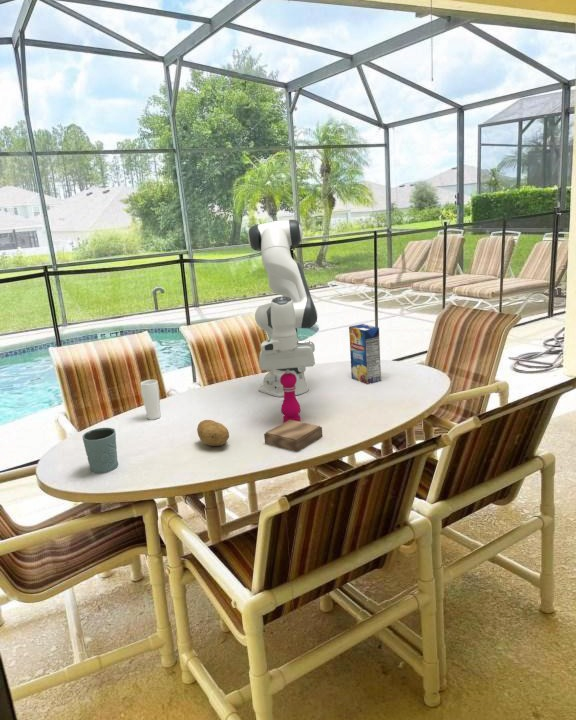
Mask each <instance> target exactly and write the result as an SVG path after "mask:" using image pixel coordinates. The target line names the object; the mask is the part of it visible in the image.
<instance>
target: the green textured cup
mask: <svg viewBox="0 0 576 720" xmlns="http://www.w3.org/2000/svg"><path fill="white" fill-rule="evenodd" d="M82 441H83V445H84V449H85V453H86V456H87V462H88V464H89V465H88V466H89V470H90V471H91V473H92V474H96V475H97V474H98V475H99V474H106V473H109V472H111V471H114V470H116V469H117V468H118V465H119V463H118V451H117V436H116V430H115V428H112V427H99V428H93V429H91V430H89V431H86V432H85V433H84V434H83V435H82Z"/></svg>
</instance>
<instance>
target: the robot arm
mask: <svg viewBox="0 0 576 720" xmlns="http://www.w3.org/2000/svg"><path fill="white" fill-rule="evenodd" d="M247 233H248V234H247V241H248V244H249V246H250V248H251V249H252V250H254V251H256V252H261V253H260V254H261V261H262V266H263V268H264V270H265V271H266V272H267V280H268V287H269V289H270V290H271V291H272V292H273V293H275V294H277V295H281V296H277V297H274V298H272V300H270V301H271V302H270V303H269V302H268V303H266V304H262V305H260V306H258V307H257V308H256V310H255V314H254V320H255V323H256V325H257V326H258V328H259V329H261V330H264V332H266V333H267V334H268V335H269V336H270V338H269V339H267V340H264V341H263V342H261V344H260V349H261V350H260V351H259V360H258V362H259V364H258V365H259V367H258V368H259V370H261V371H269V372H267V373H266V374H265V375H264V377H263V381H262V385H261V386H259V387H258V392H262V393H264V394H268V395H271V396H274V397H277V398H284V391H283V390H282V389H283V388H282V386H283V385H282V384H281V383H280V378H281V376H282V375H283V374H285V370H286V369H289V370H290V373H292V374H294V375H295V376H296V379H297V382H296V384H295V386H296V390H295V396H299V395H302V394H305V393H307V392H308V390H309V387H308V384H307V380H306V375H305V372H306V370H307V369H306V368H307V367H308V368H309V367H310V368H311V367H313V366H315V364H316V362H315V354H314V352H315V351H316V348H315V343H314V342H313V341H310V340H306V341H302V340H300V339H299V337H298V333H297V330H296V329H312V327H314V325H315V324H316V323H317V322H318V311H317V308H316V306H315V304H314V300H313V298H312V295H311V292H310V289H309V286H308V282H307V280H306V276H305V273H304V271H303V268H302V266H301V264H300V263H299V262H296V261H295V260H294V259H293V257H292V253H291V251H290V248H291V247H292V250H293V251H294V250H295V248H297V247H298V246H299V245H300V243H301V242H302V238H303V228H302V226H301V225H300V222H299V221H298V220H296V219H289V220H288V219H287V220H286V219H285V220H283V219H282V220H273V221H270V222H264V223H261V224H254V225H252V226H250V228H249V229H248V232H247Z"/></svg>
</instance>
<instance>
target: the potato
mask: <svg viewBox="0 0 576 720" xmlns="http://www.w3.org/2000/svg"><path fill="white" fill-rule="evenodd" d="M196 431H197V436H198V438H199V440H200V441H201V442H202V443H203V444H205V445H206V446H209V447H220V446H221V447H222V446H223V445H224V444H226V443H227V442H228V441H229V438H230V432H229V430H228V427H226V426H225V425H224V424H222V423H220V422H217V421H214V420H211V419H204V420H201V421H200V422H199V423H198V425H197V429H196Z"/></svg>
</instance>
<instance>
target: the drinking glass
mask: <svg viewBox="0 0 576 720" xmlns="http://www.w3.org/2000/svg"><path fill="white" fill-rule="evenodd" d="M158 381H159V380H157V379H146V380H143V381H141V382H140V390H141V391H140V392H141V396H142V397H141V398H142V400H143V404H144V407H145V408H144V409H145V412H146V416H147V419H148V420H150V421H151V420H152V421H153V420H157V419H160V418H161V404H160V403H161V401H160V398H161V397H160V388H159V387H160V386H159V382H158Z"/></svg>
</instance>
